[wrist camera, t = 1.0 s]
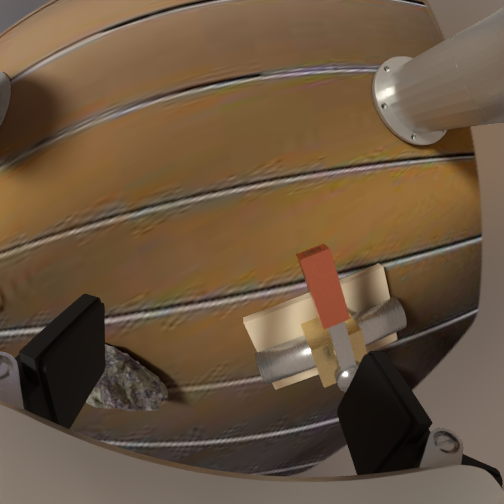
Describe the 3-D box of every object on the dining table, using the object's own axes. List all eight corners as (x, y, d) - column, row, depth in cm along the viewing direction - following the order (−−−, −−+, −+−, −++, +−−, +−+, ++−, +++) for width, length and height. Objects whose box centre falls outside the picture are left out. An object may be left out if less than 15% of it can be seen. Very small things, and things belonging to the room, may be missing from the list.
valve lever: (363, 375, 30) (369, 385, 28) (337, 386, 30) (341, 396, 28) (326, 242, 26) (332, 247, 24) (292, 255, 26) (296, 261, 24)
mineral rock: (174, 386, 41) (161, 433, 31) (127, 406, 42) (110, 448, 32) (118, 321, 38) (89, 360, 28) (75, 349, 39) (45, 386, 29)
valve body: (387, 286, 36) (419, 313, 28) (394, 323, 38) (423, 354, 30) (252, 341, 37) (255, 382, 29) (268, 374, 39) (274, 417, 31)
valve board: (378, 263, 37) (383, 266, 36) (393, 334, 40) (397, 339, 39) (243, 317, 38) (243, 322, 37) (274, 383, 41) (275, 389, 40)
